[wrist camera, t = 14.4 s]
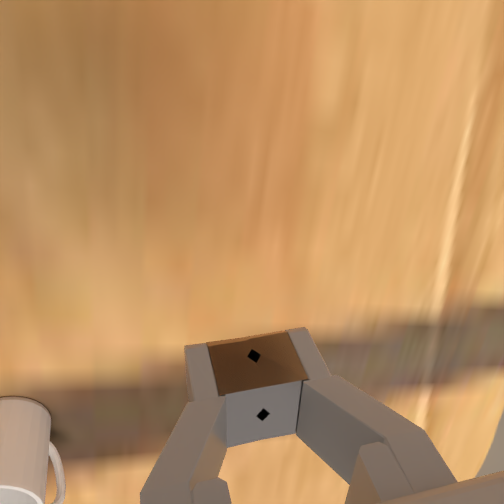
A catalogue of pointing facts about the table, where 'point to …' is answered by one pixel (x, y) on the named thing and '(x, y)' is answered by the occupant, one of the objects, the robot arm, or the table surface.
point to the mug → (26, 452)
